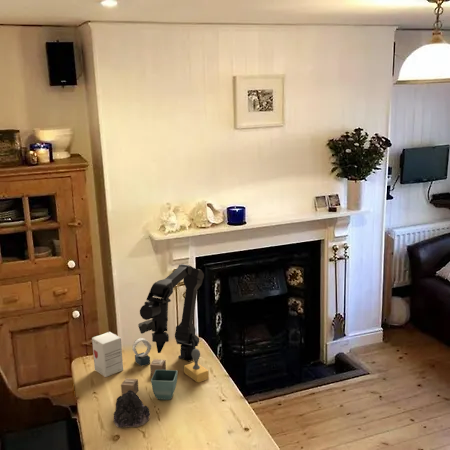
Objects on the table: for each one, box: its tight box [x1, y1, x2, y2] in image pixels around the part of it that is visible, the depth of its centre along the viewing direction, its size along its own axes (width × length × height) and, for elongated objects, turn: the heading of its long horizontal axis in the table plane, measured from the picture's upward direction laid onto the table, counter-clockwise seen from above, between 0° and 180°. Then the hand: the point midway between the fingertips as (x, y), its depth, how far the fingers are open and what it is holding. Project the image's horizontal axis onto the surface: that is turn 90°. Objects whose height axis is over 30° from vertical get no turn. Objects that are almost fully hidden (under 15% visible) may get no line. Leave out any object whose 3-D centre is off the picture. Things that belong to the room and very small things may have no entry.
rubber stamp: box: [183, 348, 210, 383], centre depth 233 cm, size 10×6×12 cm, turn 36°
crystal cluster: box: [113, 390, 151, 428], centre depth 204 cm, size 13×14×10 cm
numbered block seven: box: [149, 358, 167, 377], centre depth 236 cm, size 5×5×5 cm
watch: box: [132, 337, 152, 367], centre depth 245 cm, size 6×8×11 cm
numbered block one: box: [120, 377, 140, 396], centre depth 221 cm, size 5×5×5 cm
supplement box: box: [91, 331, 124, 378], centre depth 239 cm, size 9×9×15 cm
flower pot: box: [150, 369, 179, 401], centre depth 218 cm, size 9×9×9 cm
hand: (159, 352), depth 229 cm, fingers closed
